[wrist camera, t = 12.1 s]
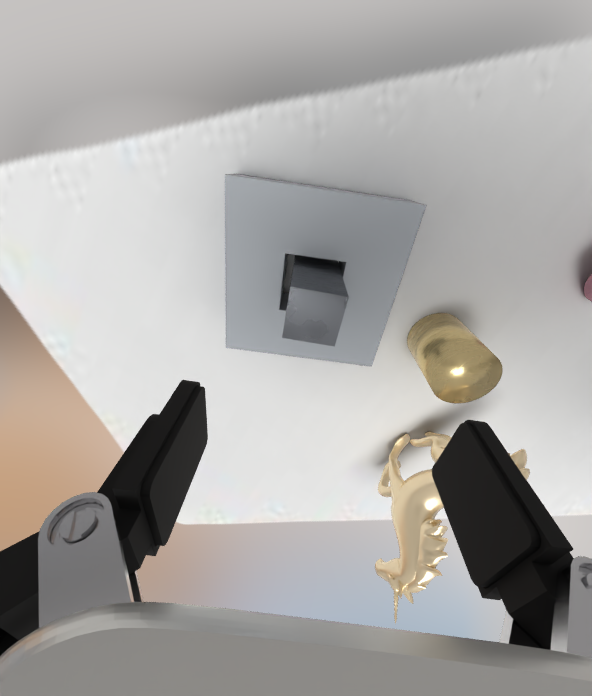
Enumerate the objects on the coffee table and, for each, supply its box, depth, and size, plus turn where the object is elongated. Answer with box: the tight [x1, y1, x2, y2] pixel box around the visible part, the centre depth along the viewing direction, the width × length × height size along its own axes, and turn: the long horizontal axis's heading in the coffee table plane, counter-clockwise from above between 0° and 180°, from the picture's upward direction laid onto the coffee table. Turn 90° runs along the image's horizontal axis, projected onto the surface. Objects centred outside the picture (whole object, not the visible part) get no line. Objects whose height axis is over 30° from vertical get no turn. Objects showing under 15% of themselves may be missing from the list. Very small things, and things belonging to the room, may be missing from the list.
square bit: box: [282, 255, 349, 347], centre depth 22 cm, size 4×4×10 cm
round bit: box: [407, 313, 502, 403], centre depth 27 cm, size 6×6×7 cm
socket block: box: [225, 174, 426, 367], centre depth 25 cm, size 14×14×4 cm
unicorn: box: [375, 431, 530, 623], centre depth 30 cm, size 20×4×17 cm, turn 141°
